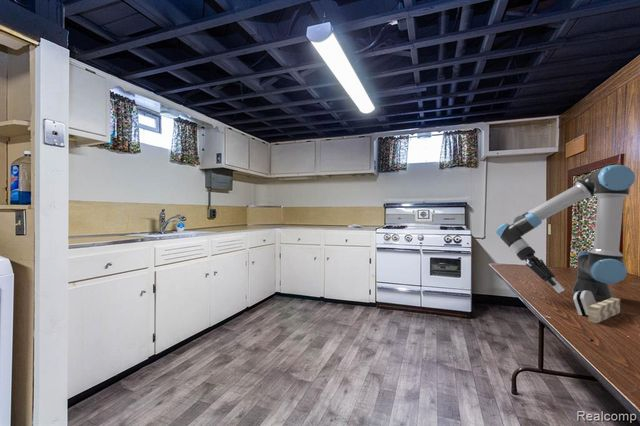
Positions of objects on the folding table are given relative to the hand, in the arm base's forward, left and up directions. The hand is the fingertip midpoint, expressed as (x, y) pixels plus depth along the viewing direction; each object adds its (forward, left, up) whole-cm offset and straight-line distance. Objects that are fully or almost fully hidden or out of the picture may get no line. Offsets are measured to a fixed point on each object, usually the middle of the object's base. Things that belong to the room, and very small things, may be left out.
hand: (561, 291), depth 136 cm
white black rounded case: (0, +9, -7) cm, 11 cm away
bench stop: (+1, +15, -7) cm, 17 cm away
